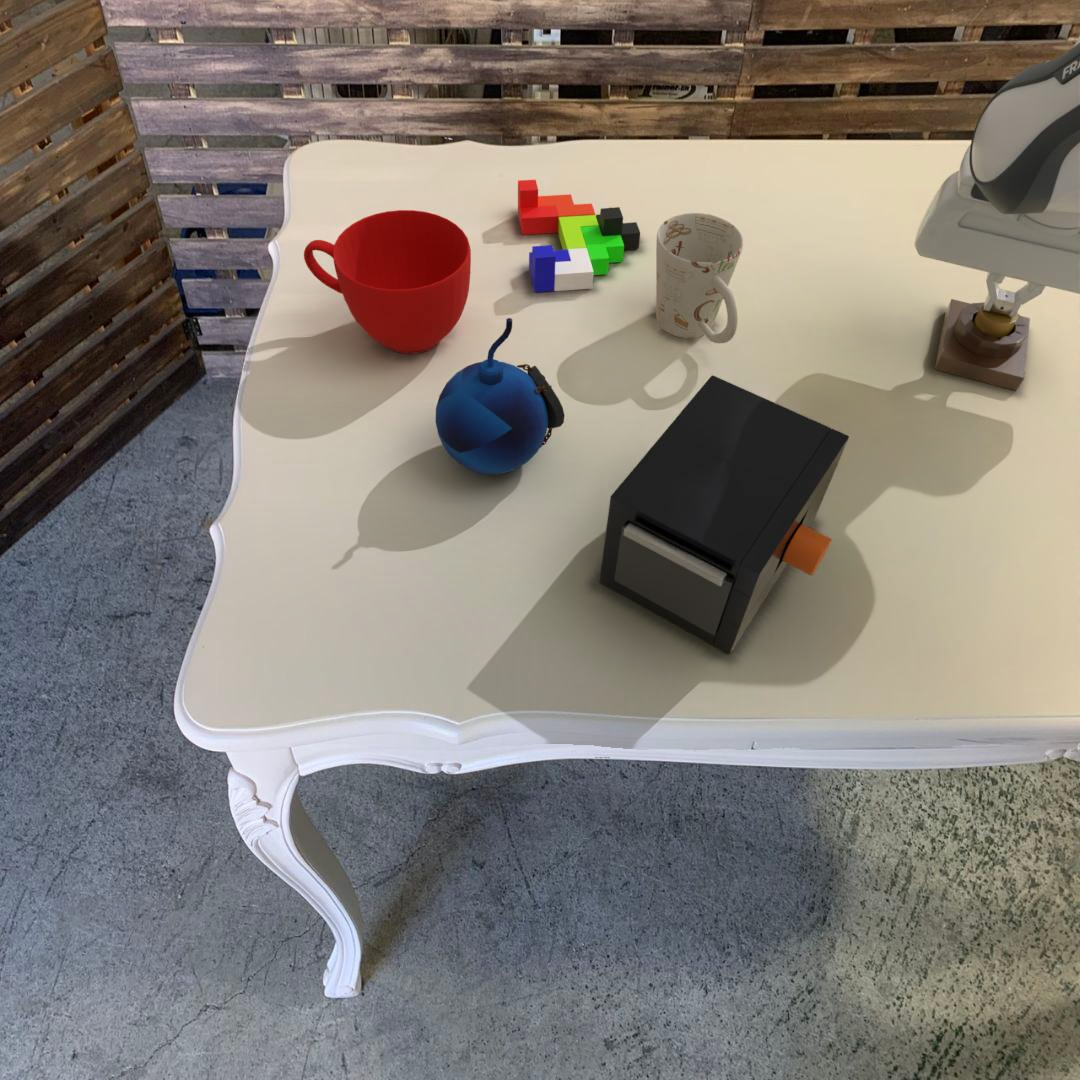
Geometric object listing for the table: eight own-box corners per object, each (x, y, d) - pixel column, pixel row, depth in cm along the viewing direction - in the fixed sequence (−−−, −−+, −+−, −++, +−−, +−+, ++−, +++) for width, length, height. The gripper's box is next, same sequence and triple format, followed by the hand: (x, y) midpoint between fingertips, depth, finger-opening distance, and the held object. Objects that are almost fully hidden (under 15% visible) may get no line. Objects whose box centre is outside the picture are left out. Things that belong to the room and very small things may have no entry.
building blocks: (650, 284, 98) (655, 250, 95) (534, 292, 97) (534, 258, 94) (623, 207, 107) (627, 174, 104) (516, 214, 106) (517, 180, 103)
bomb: (575, 471, 81) (586, 342, 69) (465, 511, 78) (456, 382, 66) (528, 403, 87) (530, 271, 75) (423, 437, 84) (408, 306, 72)
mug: (696, 287, 98) (713, 204, 90) (762, 357, 91) (786, 274, 84) (630, 307, 96) (641, 224, 88) (693, 380, 89) (711, 298, 81)
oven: (812, 524, 78) (849, 435, 70) (722, 666, 69) (752, 585, 61) (691, 465, 82) (712, 374, 73) (591, 592, 73) (601, 506, 65)
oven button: (824, 556, 71) (836, 531, 68) (807, 583, 69) (819, 558, 66) (795, 541, 71) (805, 516, 69) (778, 568, 70) (788, 543, 67)
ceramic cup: (342, 277, 98) (327, 193, 90) (490, 306, 95) (488, 222, 88) (291, 352, 90) (269, 268, 82) (450, 386, 88) (443, 302, 80)
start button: (1011, 320, 91) (1019, 305, 90) (1009, 341, 89) (1017, 327, 88) (975, 311, 92) (982, 297, 91) (972, 332, 90) (979, 318, 88)
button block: (1022, 330, 95) (1038, 303, 92) (1016, 390, 89) (1032, 364, 86) (945, 311, 97) (958, 284, 94) (934, 369, 91) (947, 342, 88)
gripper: (1194, 190, 78) (1109, 318, 89) (952, 139, 82) (900, 267, 93) (1197, 229, 74) (1109, 357, 85) (944, 173, 78) (891, 303, 89)
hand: (998, 310), depth 89 cm, fingers closed
